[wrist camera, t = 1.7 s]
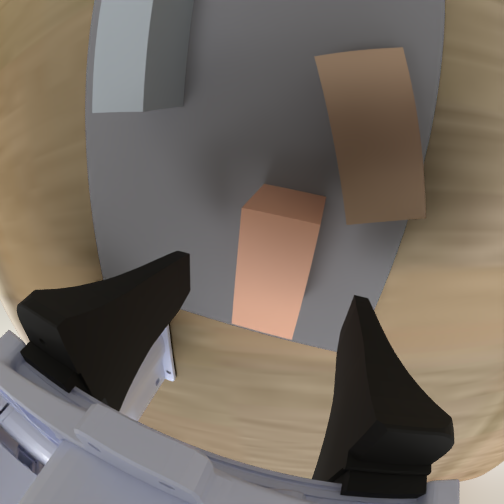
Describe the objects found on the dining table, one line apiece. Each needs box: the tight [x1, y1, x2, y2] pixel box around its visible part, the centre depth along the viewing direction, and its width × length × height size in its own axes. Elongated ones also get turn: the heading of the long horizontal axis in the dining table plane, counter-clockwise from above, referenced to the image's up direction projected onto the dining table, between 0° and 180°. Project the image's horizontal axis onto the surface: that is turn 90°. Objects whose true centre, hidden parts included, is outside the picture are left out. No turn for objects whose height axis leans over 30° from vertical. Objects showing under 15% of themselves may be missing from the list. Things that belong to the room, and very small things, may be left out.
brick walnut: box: [314, 47, 426, 225], centre depth 11 cm, size 6×3×4 cm, turn 14°
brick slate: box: [92, 0, 194, 113], centre depth 11 cm, size 6×3×4 cm, turn 174°
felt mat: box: [85, 0, 445, 352], centre depth 15 cm, size 24×20×1 cm
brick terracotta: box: [232, 184, 326, 340], centre depth 15 cm, size 6×3×4 cm, turn 174°
